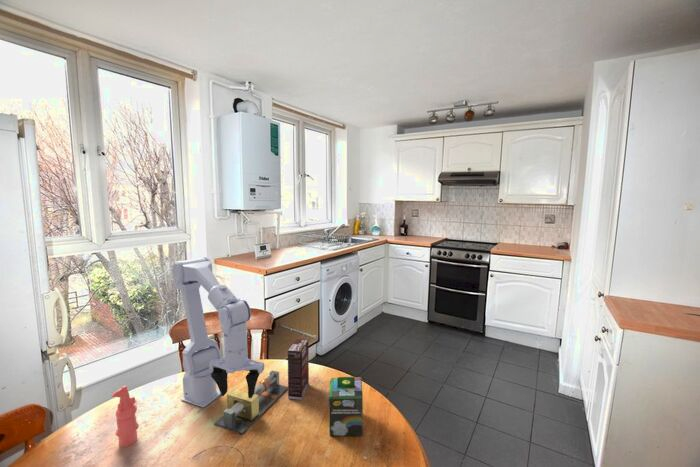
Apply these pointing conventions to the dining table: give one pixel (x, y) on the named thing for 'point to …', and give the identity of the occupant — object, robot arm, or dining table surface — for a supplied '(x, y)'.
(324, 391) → the dining table surface
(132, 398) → the figurine
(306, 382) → the supplement box
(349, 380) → the chalk box
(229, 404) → the yellow block with hole
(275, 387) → the pipe stand
